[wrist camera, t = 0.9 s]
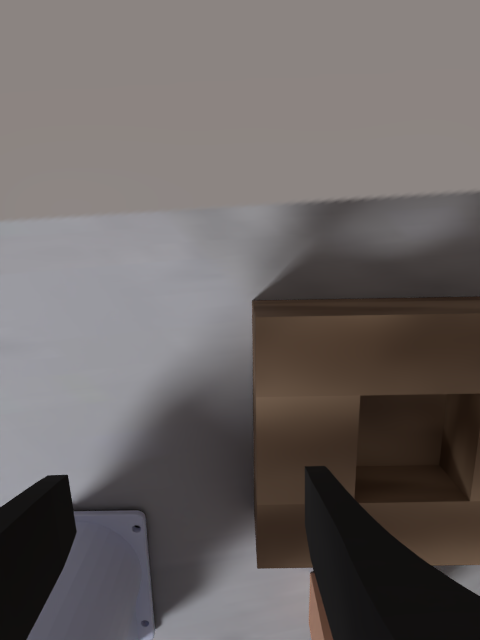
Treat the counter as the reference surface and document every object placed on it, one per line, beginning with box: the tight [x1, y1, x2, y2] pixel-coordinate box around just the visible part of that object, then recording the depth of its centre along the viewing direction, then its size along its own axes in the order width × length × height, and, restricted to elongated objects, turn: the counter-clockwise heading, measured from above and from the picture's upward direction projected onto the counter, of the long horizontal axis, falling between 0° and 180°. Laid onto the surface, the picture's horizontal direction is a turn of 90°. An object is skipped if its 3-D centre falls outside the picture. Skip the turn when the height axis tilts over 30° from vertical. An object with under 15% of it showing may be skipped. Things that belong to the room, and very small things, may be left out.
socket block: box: [252, 297, 480, 568], centre depth 20 cm, size 13×15×4 cm
